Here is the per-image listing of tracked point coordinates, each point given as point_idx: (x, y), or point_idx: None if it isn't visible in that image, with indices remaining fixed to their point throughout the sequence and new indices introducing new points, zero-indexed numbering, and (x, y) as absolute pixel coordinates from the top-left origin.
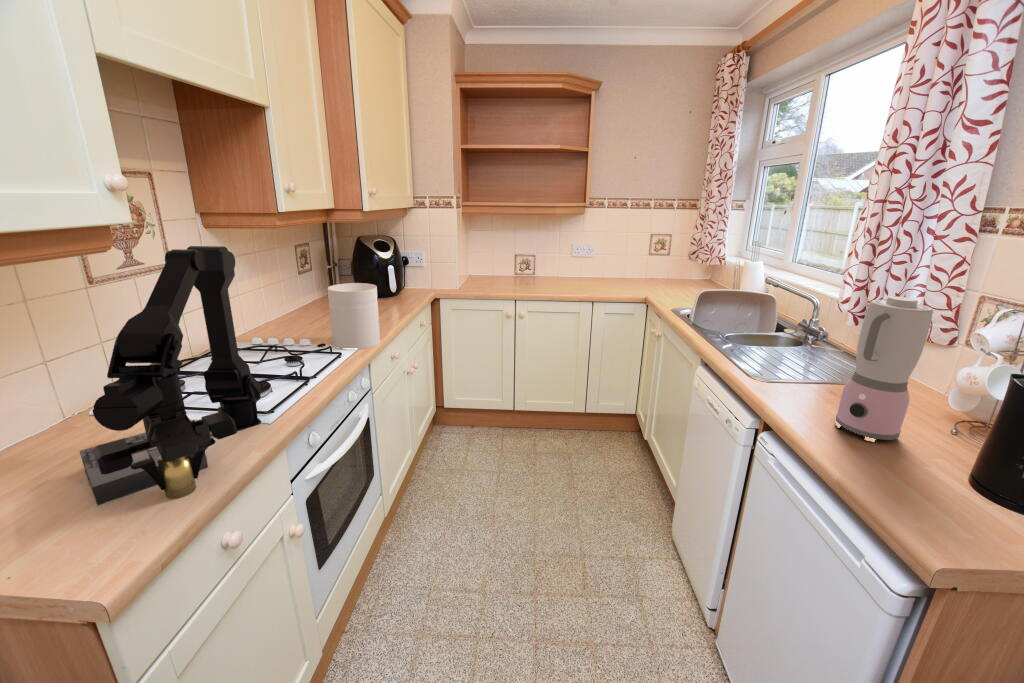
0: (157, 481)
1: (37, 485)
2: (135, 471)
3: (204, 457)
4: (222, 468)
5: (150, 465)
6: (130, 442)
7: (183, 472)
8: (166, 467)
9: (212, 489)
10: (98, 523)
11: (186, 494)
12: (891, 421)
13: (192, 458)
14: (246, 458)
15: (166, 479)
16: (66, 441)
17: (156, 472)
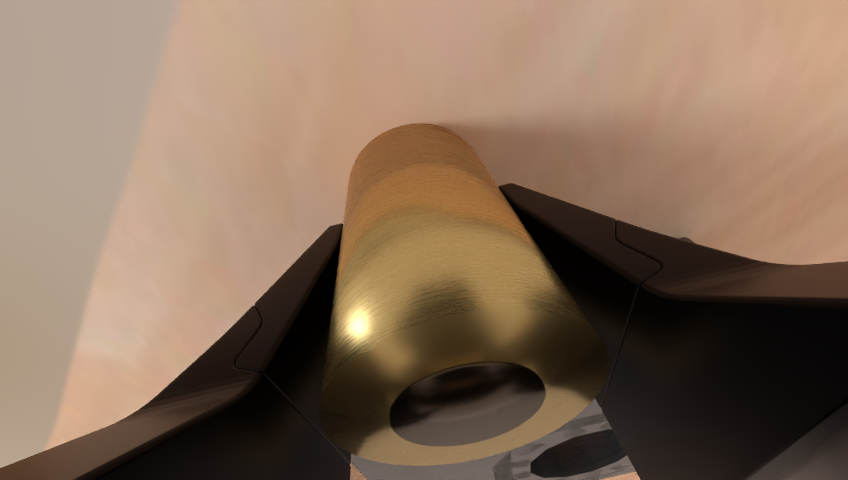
0: (560, 206)
1: None
2: None
3: None
4: (248, 296)
5: (838, 281)
6: (545, 477)
7: (390, 214)
8: (539, 271)
9: (251, 120)
10: (759, 90)
11: (391, 130)
12: None
13: (321, 351)
14: (148, 331)
15: (507, 205)
16: None
17: (608, 247)
